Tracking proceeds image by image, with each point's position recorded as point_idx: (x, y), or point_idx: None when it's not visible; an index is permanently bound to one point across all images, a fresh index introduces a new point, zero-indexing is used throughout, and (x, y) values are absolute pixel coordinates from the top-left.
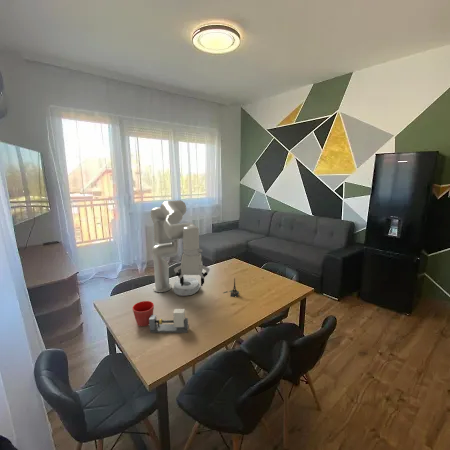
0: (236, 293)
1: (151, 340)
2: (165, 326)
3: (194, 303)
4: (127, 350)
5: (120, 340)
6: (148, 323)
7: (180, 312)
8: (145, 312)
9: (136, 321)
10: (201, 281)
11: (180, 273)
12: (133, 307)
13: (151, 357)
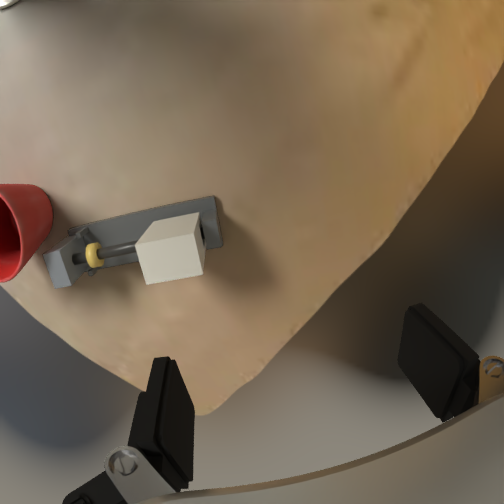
0: None
1: (111, 305)
2: (118, 233)
3: (187, 10)
4: (79, 350)
5: (33, 316)
6: (49, 230)
7: (184, 273)
8: (19, 271)
9: (12, 243)
10: (428, 397)
11: (120, 502)
12: None
13: None
